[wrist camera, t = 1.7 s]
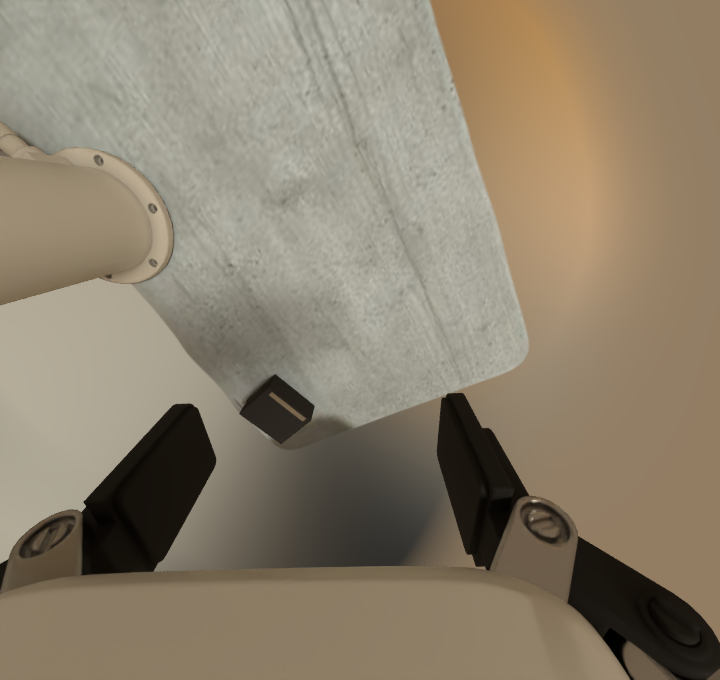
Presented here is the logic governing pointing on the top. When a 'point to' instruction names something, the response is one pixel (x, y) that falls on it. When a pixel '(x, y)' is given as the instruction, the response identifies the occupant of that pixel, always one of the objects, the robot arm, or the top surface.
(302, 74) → the top surface
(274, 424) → the charcoal pad
